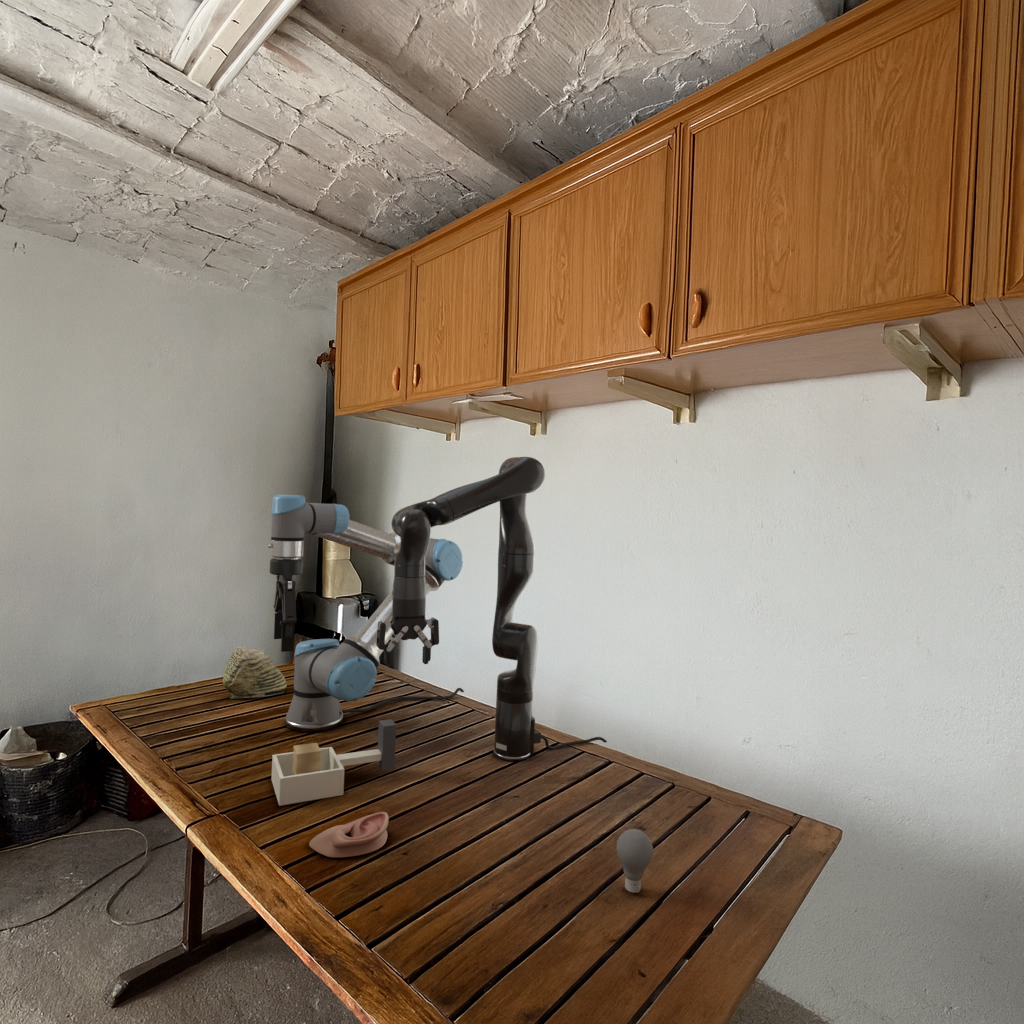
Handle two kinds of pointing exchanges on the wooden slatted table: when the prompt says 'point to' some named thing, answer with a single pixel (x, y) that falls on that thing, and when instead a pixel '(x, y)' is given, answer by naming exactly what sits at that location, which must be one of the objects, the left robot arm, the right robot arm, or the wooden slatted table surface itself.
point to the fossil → (252, 674)
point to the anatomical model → (353, 837)
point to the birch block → (306, 758)
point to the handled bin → (329, 769)
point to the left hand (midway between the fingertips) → (283, 644)
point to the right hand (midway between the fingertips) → (407, 665)
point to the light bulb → (634, 857)
